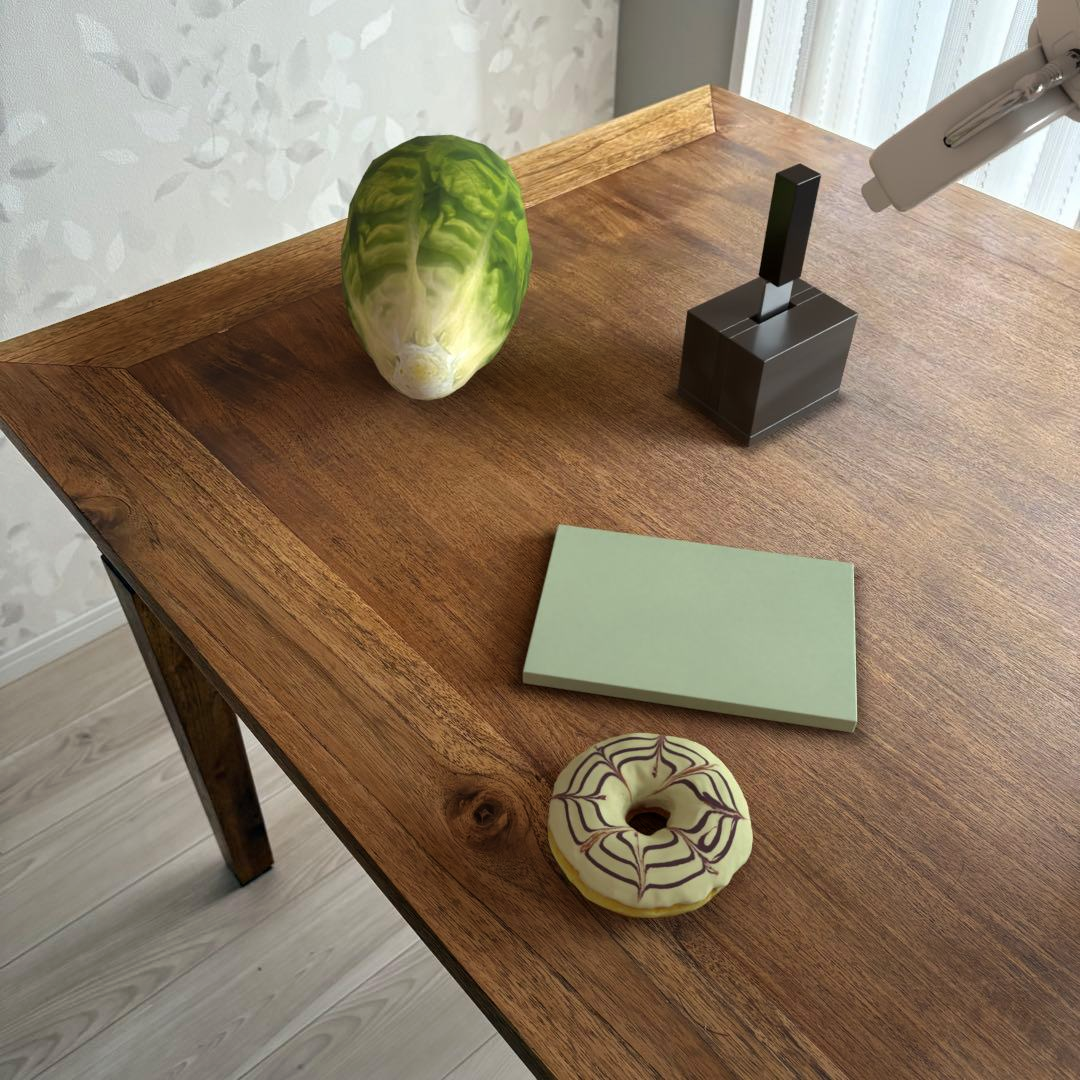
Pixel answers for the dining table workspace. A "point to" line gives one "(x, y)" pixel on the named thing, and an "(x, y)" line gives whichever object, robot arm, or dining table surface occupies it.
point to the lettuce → (435, 262)
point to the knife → (786, 236)
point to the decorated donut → (669, 854)
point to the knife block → (764, 358)
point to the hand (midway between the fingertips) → (921, 168)
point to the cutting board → (697, 627)
